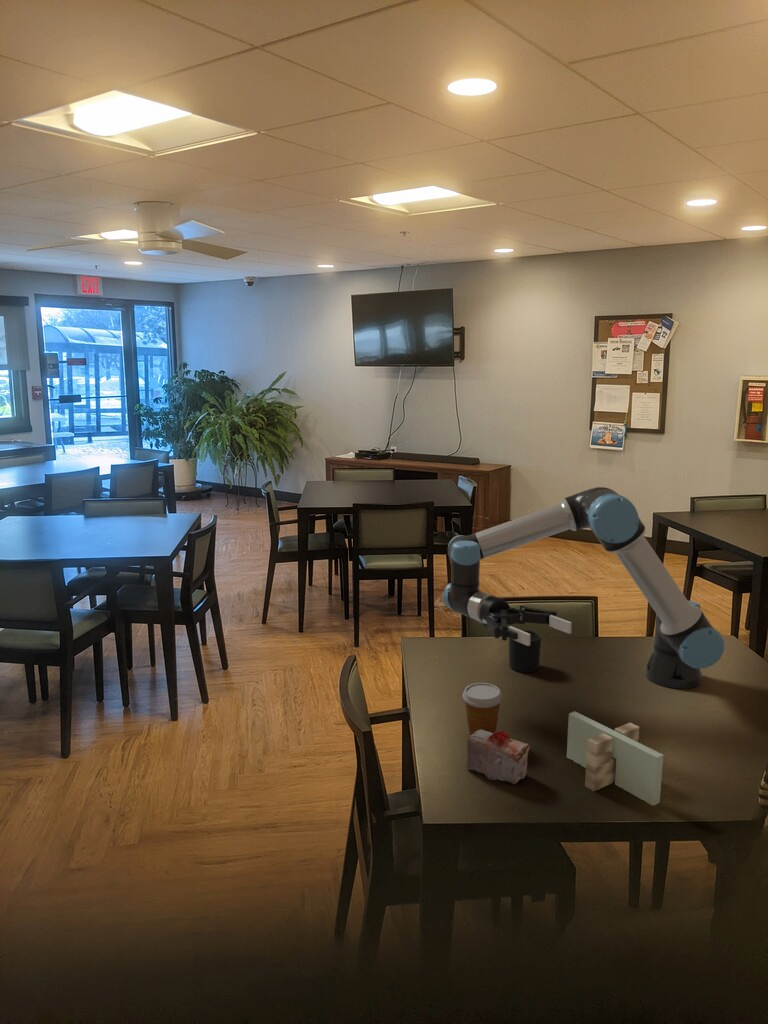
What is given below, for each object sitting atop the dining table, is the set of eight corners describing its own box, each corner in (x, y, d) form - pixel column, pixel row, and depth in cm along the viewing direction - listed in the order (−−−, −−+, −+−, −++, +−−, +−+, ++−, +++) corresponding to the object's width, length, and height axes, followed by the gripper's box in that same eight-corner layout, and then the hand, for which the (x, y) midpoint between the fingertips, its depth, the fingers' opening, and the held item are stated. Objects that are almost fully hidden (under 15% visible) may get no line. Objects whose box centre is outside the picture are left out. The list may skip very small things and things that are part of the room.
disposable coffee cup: (501, 747, 186) (501, 701, 183) (461, 744, 187) (460, 699, 184) (502, 726, 195) (502, 682, 192) (464, 724, 196) (464, 680, 193)
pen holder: (544, 665, 234) (545, 633, 232) (532, 676, 226) (534, 643, 224) (515, 659, 239) (516, 628, 237) (502, 669, 231) (503, 637, 229)
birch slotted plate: (627, 767, 176) (630, 722, 174) (636, 772, 174) (639, 726, 172) (584, 786, 169) (587, 739, 167) (593, 791, 167) (596, 744, 164)
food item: (533, 774, 174) (534, 734, 172) (518, 791, 167) (519, 749, 165) (478, 757, 181) (479, 718, 179) (462, 772, 174) (462, 732, 172)
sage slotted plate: (566, 757, 181) (568, 713, 179) (572, 754, 182) (574, 711, 180) (653, 806, 161) (657, 757, 159) (659, 803, 162) (663, 754, 160)
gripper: (524, 614, 207) (585, 638, 190) (451, 633, 193) (510, 660, 176) (525, 587, 205) (587, 608, 188) (451, 604, 192) (511, 629, 174)
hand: (550, 634), depth 182 cm, fingers open, 13 cm apart
